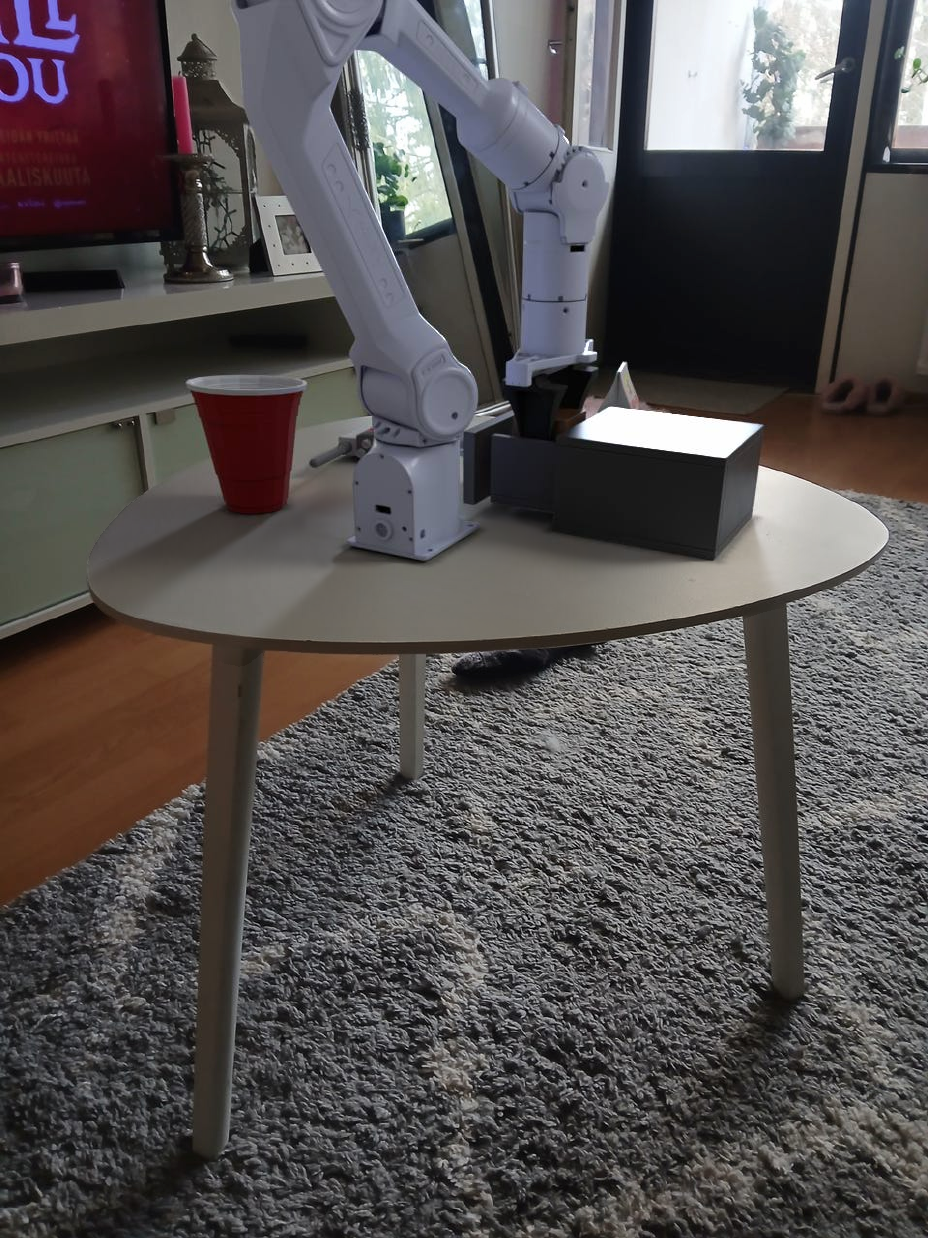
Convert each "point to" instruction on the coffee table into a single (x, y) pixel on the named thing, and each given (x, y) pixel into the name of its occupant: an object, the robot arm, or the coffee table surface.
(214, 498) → the coffee table surface
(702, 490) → the cabinet
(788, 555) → the coffee table surface
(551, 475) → the drawer
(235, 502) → the plastic cup
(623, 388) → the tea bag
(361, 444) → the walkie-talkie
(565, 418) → the block
